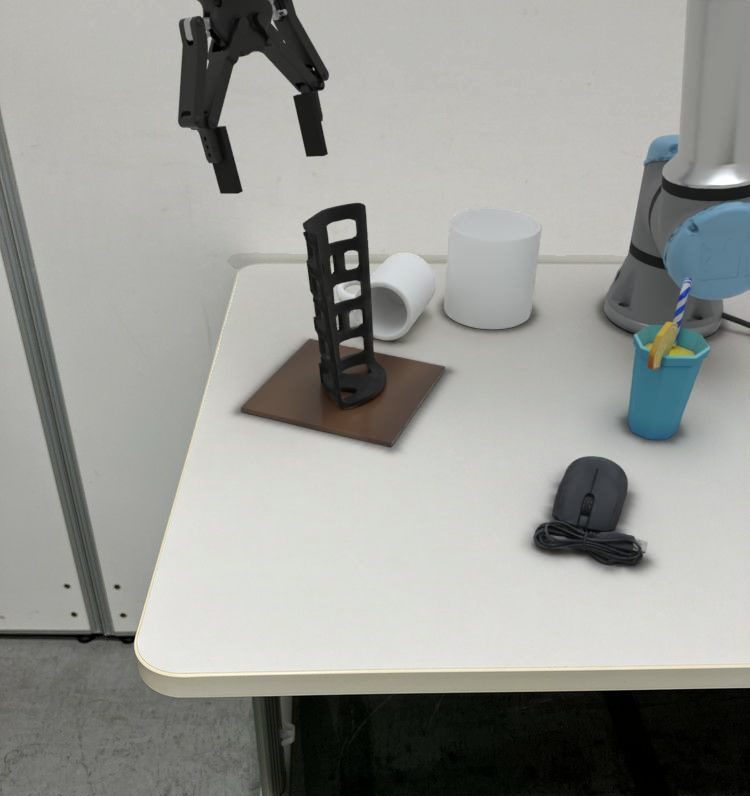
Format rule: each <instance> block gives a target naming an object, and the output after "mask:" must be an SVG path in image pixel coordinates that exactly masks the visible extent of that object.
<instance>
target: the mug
mask: <svg viewBox="0 0 750 796" xmlns="http://www.w3.org/2000/svg"><path fill="white" fill-rule="evenodd" d="M370 284H371V301H372V320H373V339H376V340H380V341H394V340H398V339H400V338H402V337H403V336H405V335H406V334H407V333H408V332H409V331H410V329H411V328H412V326H413V325H414V324H415V323H416V321H417V320H418V319H419V317H420V316H421V314H422V313H423V312H424V310H425V309H426V308H427V307H428V306H429V304H430V303H431V301H432V300H433V298H434V296H435V293H436V290H437V281H436V276H435V273H434V271H433V268H432V267H431V266H430V265H429V264H428V262H427V261H426V260H425V259H423V258H422V257H421V256H419V255H417V254H414V253H411V252H397V253H393V254H391V255H390V256H389V257H387V258H386V259H385V260H384V261H383V262H382V263H381V264H380V266H378V267H377V269H376V270H374V272H373V273H372V274H370ZM352 286H353V287H354V286H359V289H357V291H356V293H351V292H348V291H346V289H347V288H349V287H352ZM335 295H336V298H337V299H338V300H339V302H341V301H344V300H348V299H353V298H356V297H358V296H360V295H361V287H360V282H359V281H350V282H345V283H341V284H338V285H336V287H335ZM352 312H353V315H354V318H355V320H356V323H357V324H358V326H359V325H360V324H362V323H363V320H362V310H360V309H357V310H352Z"/></svg>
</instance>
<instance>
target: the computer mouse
mask: <svg viewBox="0 0 750 796" xmlns="http://www.w3.org/2000/svg"><path fill="white" fill-rule="evenodd" d="M628 479H629V478H628V477H627V473H626V472H625V470H624V468H622V467H621V466H620V465H619V464H618V463H616V462H615V461H614V460H611V459H609V458H606V457H603V456H596V455H587V456H581V457H578V458H576V459H574V460H573V461H572V462H571V463H570V464H569V465H568V466H567V468H566V469H565V471H564V474H563V476H562V479H561V481H560V483H559V486H558V488H557V491H556V494H555V497H554V501H553V506H552V512H551V515H552V518H553V519H554V520H550V521H548V522H543V523H541V524H539V526H538V527H536V529H535V531H534V533H533V536H532V540H533V542H534V544H536V545H537V546H539V547H540V548H542V549H544V550H563V549H580V550H581V551H582V552H586V551H587V552H589V554H590V555H592V557H594V558H595V559H596V560H598V561H599V562H601V563H603V564H605V565H610V566H611V565H615V564H617V563H622V564H623V563H624V564H628V565H636V564H638V563H640V562H642V560H643V558H644V554H646V553H647V549H648V543H649V541H648V540H645V539H640V538H636V537H635V536H634V535H632V534H627V533H622V532H617V531H615V530H616V529H617V526H618V523H619V521H620V518H621V515H622V511H623V507H624V503H625V500H626V498H627V493H628V487H629V481H628ZM557 537H560V538H557ZM561 537H562V538H561ZM597 555H598V556H597ZM600 556H601V557H604V558H606V559H607V560H605V559H602V558H601V557H600Z"/></svg>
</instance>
